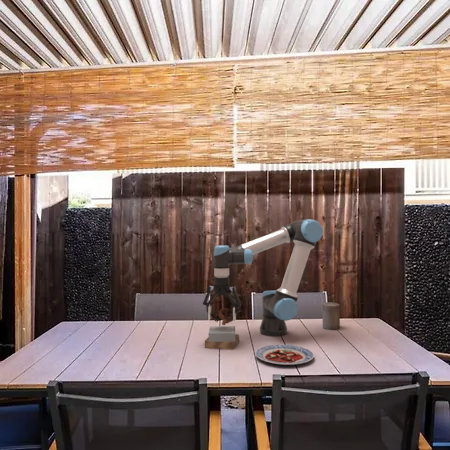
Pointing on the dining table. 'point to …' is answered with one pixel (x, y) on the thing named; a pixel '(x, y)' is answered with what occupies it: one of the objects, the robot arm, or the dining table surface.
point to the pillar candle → (331, 315)
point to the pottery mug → (222, 316)
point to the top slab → (222, 334)
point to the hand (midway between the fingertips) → (222, 319)
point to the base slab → (222, 344)
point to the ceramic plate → (284, 354)
